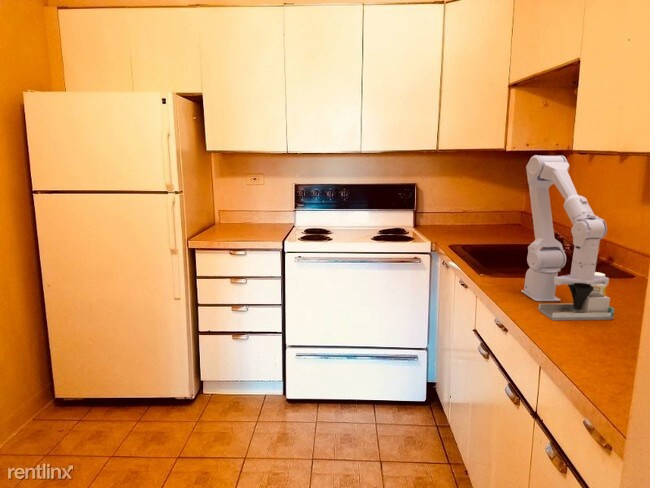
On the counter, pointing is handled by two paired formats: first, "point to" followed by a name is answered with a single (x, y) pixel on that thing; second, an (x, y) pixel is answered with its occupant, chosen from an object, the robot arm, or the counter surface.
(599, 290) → the supplement bottle
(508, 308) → the counter surface
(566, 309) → the rail plate
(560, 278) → the robot arm
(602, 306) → the block
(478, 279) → the counter surface
